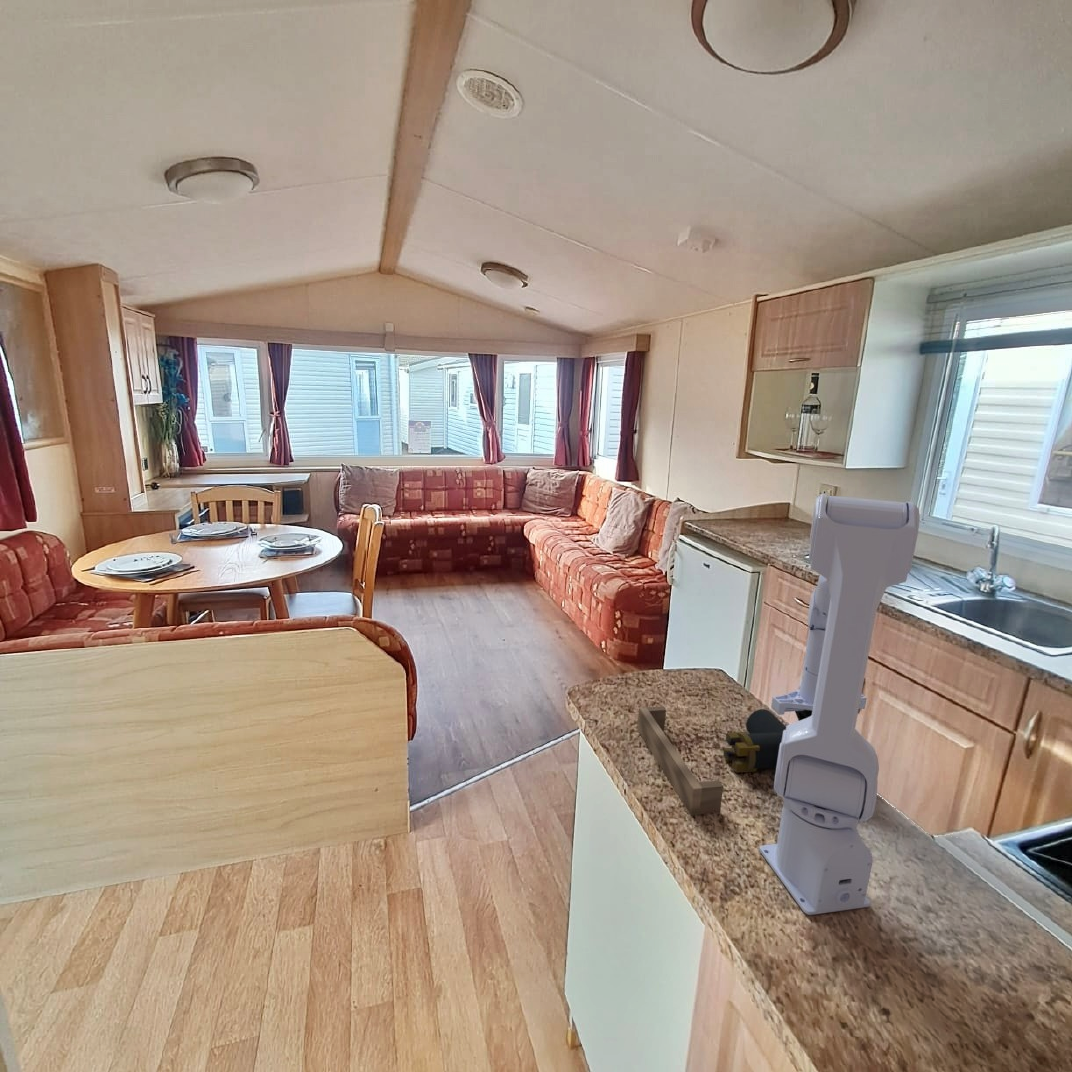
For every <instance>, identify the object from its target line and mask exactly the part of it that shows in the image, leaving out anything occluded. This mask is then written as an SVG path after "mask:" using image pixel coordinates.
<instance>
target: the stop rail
mask: <svg viewBox="0 0 1072 1072" xmlns="http://www.w3.org/2000/svg"><path fill="white" fill-rule="evenodd" d="M666 713H667V709H666V708H665V706H663V705H661V706H659V705H658V706H645V707H639V708H638V716H637V728H636V729H637V731H638V733H639V734H641V735H640V736H641V738H642V739H643V741H644V742H645V745H646V746H647V747H648V749H649V751H650V752H651V753H652V756H653V757H654V759H655V761H656V762H657V763H658V766H659V767H660V768H661V770H662V771H663V773H664V774H665V776H666V778H667V779H668V782H669V783H670V784H671V786H672V788H673V789H674V791H675V792H676V794H677V796H678V797H679V799H680V800H681V802H682V804H683V806H684V807H685V809H686V810H687V812H688V813H689V815H690V816H697V815H699V816H700V815H707V814H714V813H715V814H718V813H721V808H722V807H721V806H722V801H723V800H722V799H723V794H724V792H723V791H724V784H722V783H721V781H720V780H708V781H707V780H706V781H698V780H697V779H696V777H695V776H694V774H693V773H692V771H691V770H690V768H689V767H688V766H687V764H686V763H685V760H683V758H682V757H681V756H680V754H679V753H678V752H677V750H676V749H675V747H674V745H673V744H672V743H671V740H670V739H669V738H668V736H667V735H666V734H665V724H666Z"/></svg>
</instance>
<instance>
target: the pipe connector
mask: <svg viewBox="0 0 1072 1072" xmlns="http://www.w3.org/2000/svg"><path fill="white" fill-rule="evenodd" d="M786 726H787V725H785V724H784V723H783V722H782V721H781V720H780V719H779V718H778V717H777V716H775V714H774V713H772V712H771V711H770V710H769V709H765V708H762V709H757V710H755V711H753V712H752V713H751V714H750V715H749V716H748V717H747V719H746V723H745V727H746V731H735V732H733V731H732V732H726V737H725V742H726V743H727V744H728V746H731V747H725V748H724V749H723V758H724V759H725V760H726V761H727V762H731V768H732V770H733V771H734V772H735V773H753V772H757V770H762V769H763V770H765V769H766V770H767V769H776V766H777V759H778V753H779V746H780V743H781V742H782V735H783V731H784V730H786Z"/></svg>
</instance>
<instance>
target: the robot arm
mask: <svg viewBox="0 0 1072 1072" xmlns="http://www.w3.org/2000/svg"><path fill="white" fill-rule="evenodd" d="M920 516H921V515H920V509H919V507H918V506H917V505H916V503H915V502H913V501H906V502H901V501H892V500H881V499H870V498H860V497H859V498H858V497H848V496H838V495H828V494H827V493H821V494H820V495H819V496H817V497H816V498H815V502H814V508H813V514H812V522H811V528H810V535H809V545H810V546H809V555H808V560H809V561H810V569H811V570H812V571H814V572H815V573H817V574H818V575H819V577H818V580H817V586H816V587H815V588H813V591H812V593H811V596H810V598H809V605H808V613H807V627H808V635H807V641H806V647H805V655H804V661H803V667H802V673H801V679H800V680H801V681H800V684H798V688H797V689H796V690H794V691H790V692H787V693H785V694H781V695H777V696H776V695H775V696H772V699H771V707H770V708H771V709H772V710H773V711H774V713H776V714H777V715H779V716H781V715H783V716H784V715H785V713H787V712H794V713H795V716H796V717H797V720H798V721H795V722H792V723H790V724H788V725H785V726H786V730H784V731H783V735H782V742H781V743H780V746H779V753H778V759H777V766H776V768H775V774H774V784H773V790H774V792H775V793H776V795H777V797H780V798H783V802H782V810H781V817H780V822H779V829H778V835H777V840H776V841H777V842H776V843H774V844H764V845H760V846H759V848H758V849H759V852H760V854H761V855H762V856H763V857H764V859H765V860H766V861H767V863H768V865H769V866H770V867H771V869H772V871H774V873H775V874H776V876H777V877H778V878H779V880H780V881H781V882H782V884H783V886H785V889H787V891H788V893H790V895H791V896H792V898H793V899H794V900H795V902H796V903H797V904H798V906H799V907H800V909H801V910H802V911H803V913H805V914H806V915H807V916H808V915H809V916H810V915H811V916H812V915H820V914H825V913H832V912H840V911H841V912H842V911H848V910H854V909H863V908H868V907H870V906H871V900H870V899H869V898H868V897H867V891H868V886H869V882H870V876H871V872H872V866H873V855H872V852H871V850H870V849H869V847H868V846H867V845H866V842H864V840H863V839H862V837H861V835H860V833H859V830H858V824H859V821H862V822H867V821H868V820H869V819H871V818H872V817H873V815H874V812H875V809H876V805H877V804H876V803H877V797H878V783H879V782H878V777H879V771H880V766H879V757H878V755H877V753H876V750H875V748H874V746H873V745H872V744H871V743H870V742H869V741H868V740H867V739H866V738H865V737H864V736H863V735H862V734H861V733H860V731H858V730H857V729H856V725H857V721H858V720H857V719H858V715H859V710H865V709H866V703H867V700H868V698H867V696H865V695H864V694H863V693H862V692H863V687H864V682H865V677H866V676H865V675H866V672H867V665H868V660H869V655H870V649H871V643H872V638H873V632H874V628H875V627H874V626H875V620H876V615H877V611H878V607H879V605H880V603H881V601H882V599H883V598H884V597H883V596H884V595H885V593H886V590H887V588H889V587H892V586H896V585H900V584H903V583H906V582H907V579H908V574H909V573H911V570H912V567H913V566H912V565H913V561H914V555H915V550H916V545H917V540H918V534H919V528H920Z"/></svg>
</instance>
